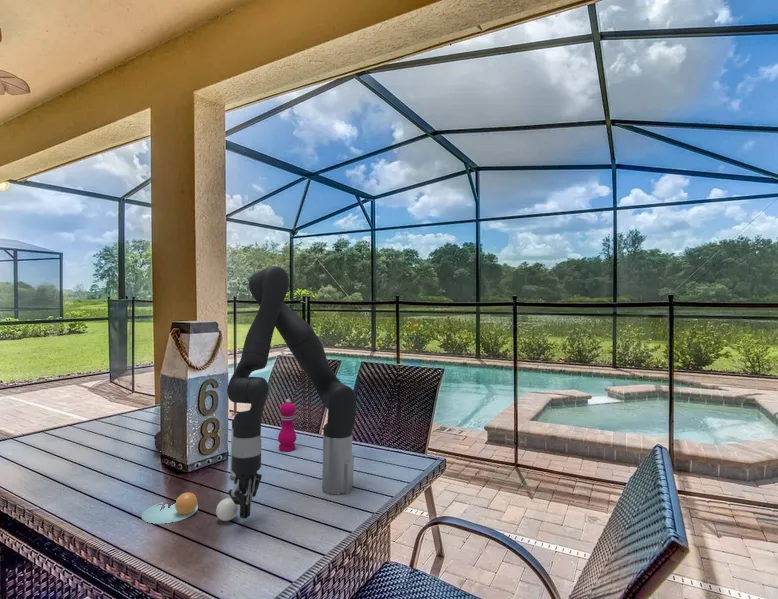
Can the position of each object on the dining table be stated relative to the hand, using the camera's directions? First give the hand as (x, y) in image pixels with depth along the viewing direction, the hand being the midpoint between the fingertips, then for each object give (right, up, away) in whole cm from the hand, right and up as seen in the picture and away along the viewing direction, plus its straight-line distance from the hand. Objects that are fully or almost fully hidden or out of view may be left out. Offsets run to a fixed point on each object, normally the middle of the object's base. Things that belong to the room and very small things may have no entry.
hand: (245, 516), depth 117 cm
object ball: (-18, +2, +4) cm, 18 cm away
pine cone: (-46, -1, +51) cm, 68 cm away
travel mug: (-11, -2, +30) cm, 32 cm away
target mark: (-22, -1, +5) cm, 23 cm away
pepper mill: (-3, -2, +59) cm, 59 cm away
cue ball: (-5, +1, +1) cm, 6 cm away
